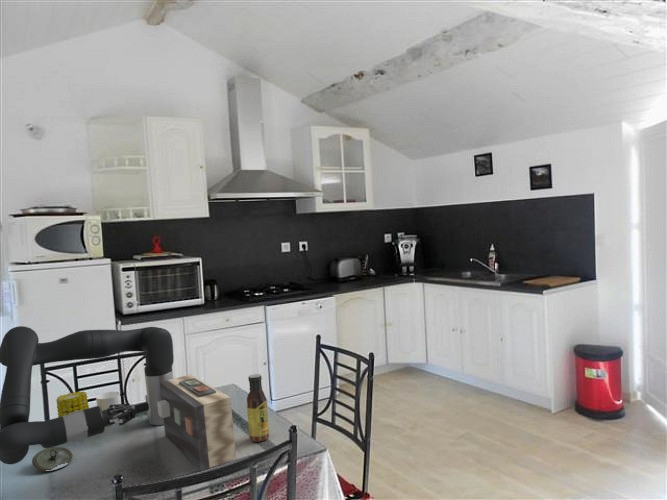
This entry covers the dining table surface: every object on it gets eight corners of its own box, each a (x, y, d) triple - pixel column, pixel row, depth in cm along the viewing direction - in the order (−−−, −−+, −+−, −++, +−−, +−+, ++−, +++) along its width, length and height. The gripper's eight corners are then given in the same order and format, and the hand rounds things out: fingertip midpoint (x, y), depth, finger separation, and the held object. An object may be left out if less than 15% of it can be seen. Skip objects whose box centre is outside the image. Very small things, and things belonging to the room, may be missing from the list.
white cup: (103, 419, 188) (100, 392, 188) (125, 417, 189) (122, 390, 188) (95, 428, 181) (92, 400, 180) (118, 425, 181) (115, 397, 181)
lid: (62, 454, 160) (60, 439, 160) (80, 461, 155) (78, 444, 155) (26, 470, 152) (24, 453, 151) (44, 477, 146) (42, 460, 146)
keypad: (200, 470, 143) (194, 404, 141) (165, 435, 169) (159, 379, 168) (235, 458, 149) (230, 394, 147) (196, 426, 175) (191, 371, 174)
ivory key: (162, 418, 160) (161, 405, 160) (158, 414, 164) (157, 401, 163) (170, 416, 162) (169, 402, 161) (166, 412, 165) (165, 399, 165)
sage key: (179, 425, 153) (178, 411, 153) (174, 421, 157) (173, 408, 156) (187, 423, 155) (186, 409, 154) (183, 419, 158) (181, 405, 158)
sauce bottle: (265, 443, 157) (260, 379, 156) (246, 442, 159) (241, 379, 157) (272, 434, 164) (267, 372, 162) (254, 433, 165) (248, 372, 164)
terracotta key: (191, 435, 145) (189, 421, 145) (186, 431, 148) (184, 417, 148) (199, 433, 146) (198, 418, 146) (194, 428, 150) (193, 414, 150)
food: (66, 448, 169) (61, 440, 177) (103, 429, 176) (96, 422, 184) (49, 406, 166) (45, 400, 175) (87, 389, 173) (81, 384, 181)
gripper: (80, 430, 146) (143, 412, 156) (89, 445, 135) (156, 424, 145) (77, 404, 145) (140, 387, 155) (85, 417, 134) (153, 398, 144)
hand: (148, 405), depth 150 cm, fingers closed
